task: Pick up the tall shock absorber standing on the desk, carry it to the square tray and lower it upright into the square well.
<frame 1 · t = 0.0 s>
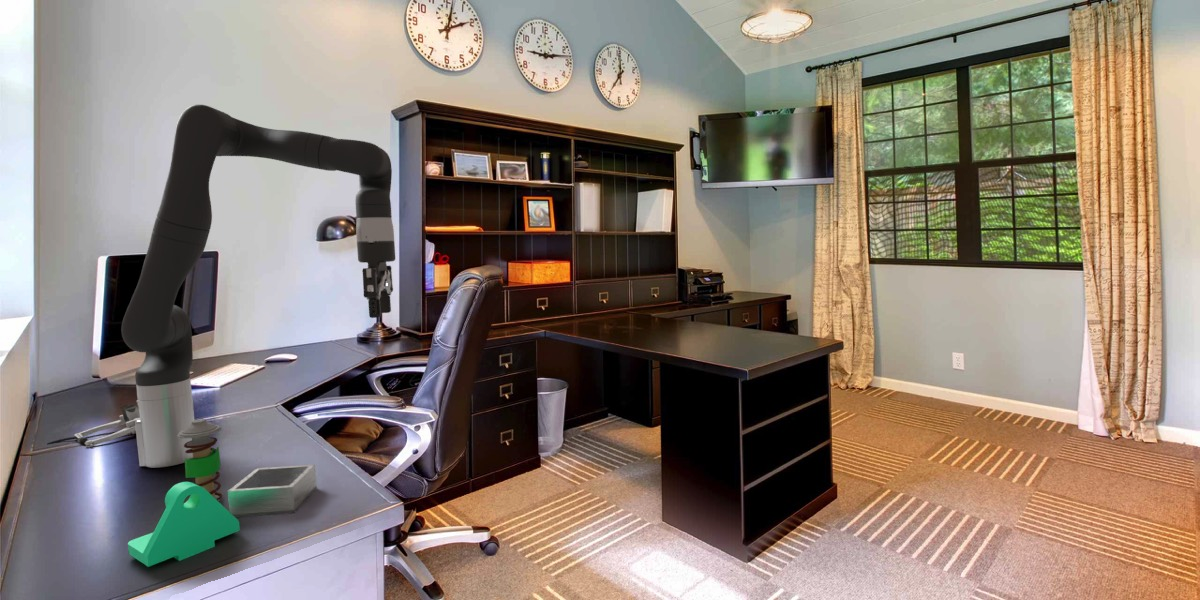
hand: (380, 315, 129), 29 cm above the table, fingers open, 8 cm apart
bike brake: (107, 439, 144), on the table
shock absorber: (206, 505, 104), on the table
camera mount: (185, 549, 89), on the table
square tray: (275, 502, 104), on the table
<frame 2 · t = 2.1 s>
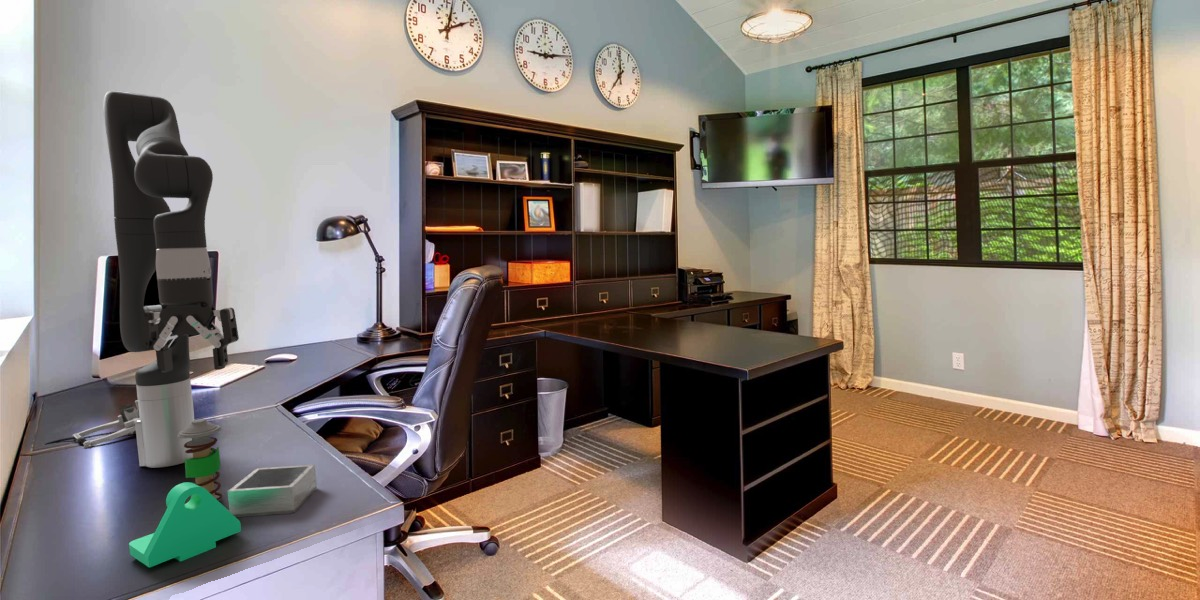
hand: (193, 370, 102), 24 cm above the table, fingers open, 8 cm apart
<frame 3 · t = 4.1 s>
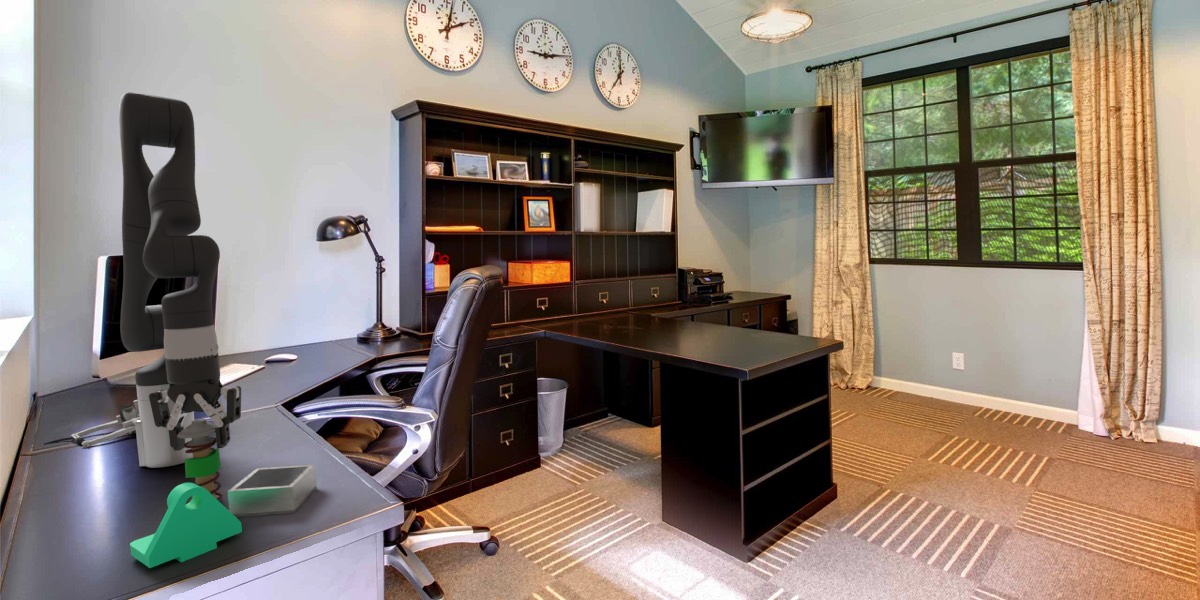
hand: (201, 447, 103), 10 cm above the table, fingers closed on shock absorber, 6 cm apart
shock absorber: (206, 505, 104), on the table, touching gripper
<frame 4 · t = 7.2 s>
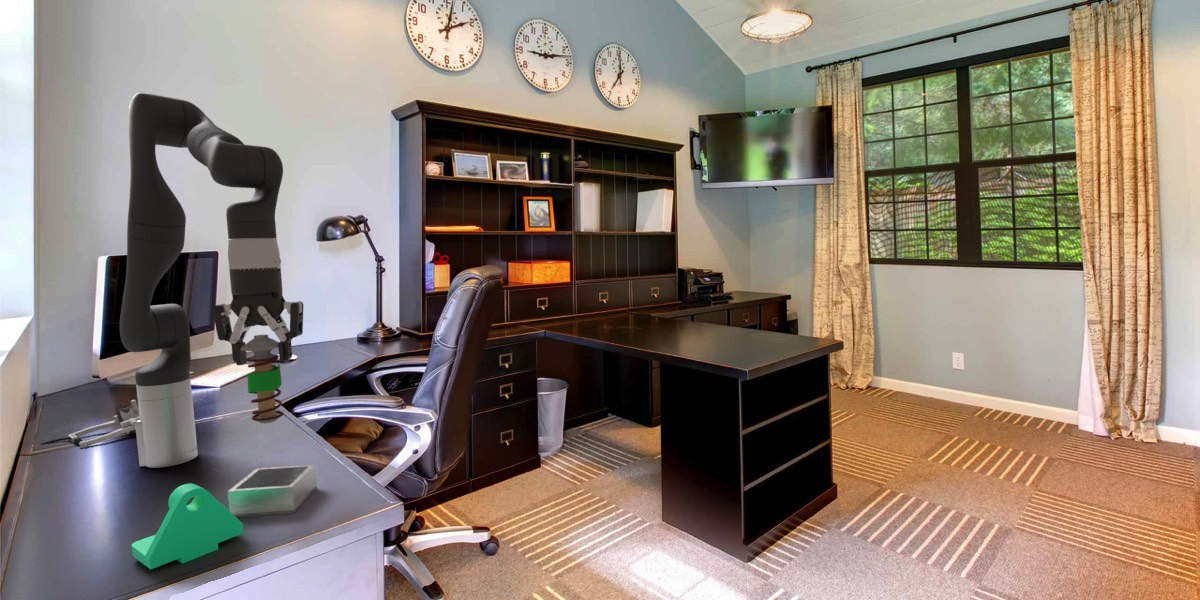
hand: (263, 363, 102), 25 cm above the table, fingers closed on shock absorber, 6 cm apart
shock absorber: (268, 422, 103), point 14 cm above the table, touching gripper
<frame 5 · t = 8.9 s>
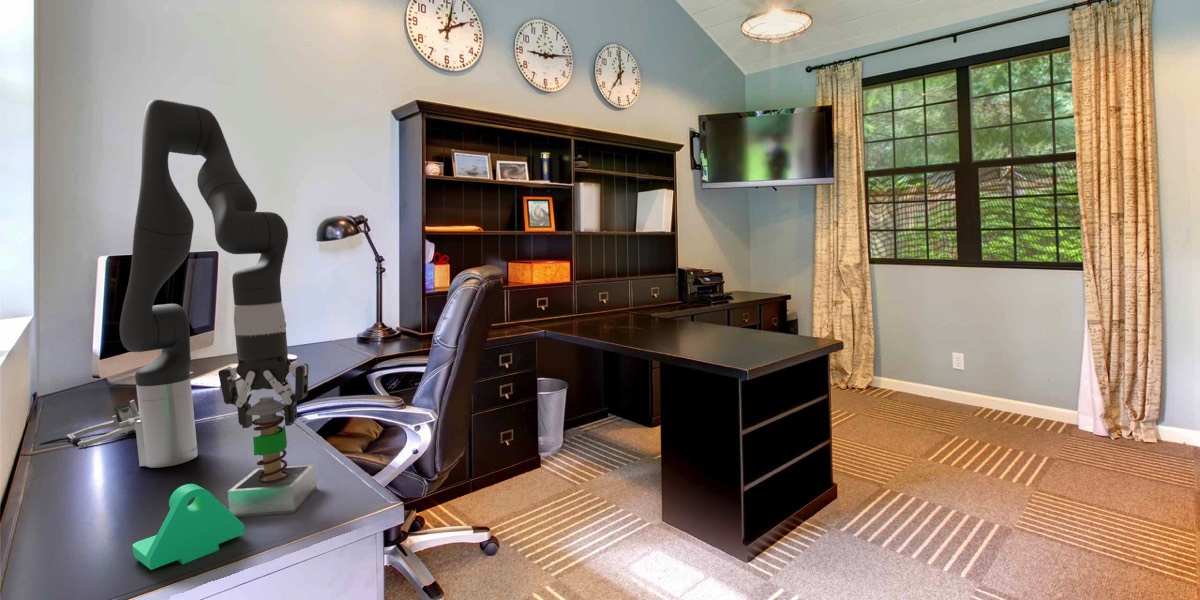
hand: (269, 425, 103), 14 cm above the table, fingers closed on shock absorber, 6 cm apart
shock absorber: (273, 483, 104), point 3 cm above the table, touching gripper
when the fingers open (12 cm above the table, at t = 10.4 s): shock absorber stays where it is, resting on square tray.
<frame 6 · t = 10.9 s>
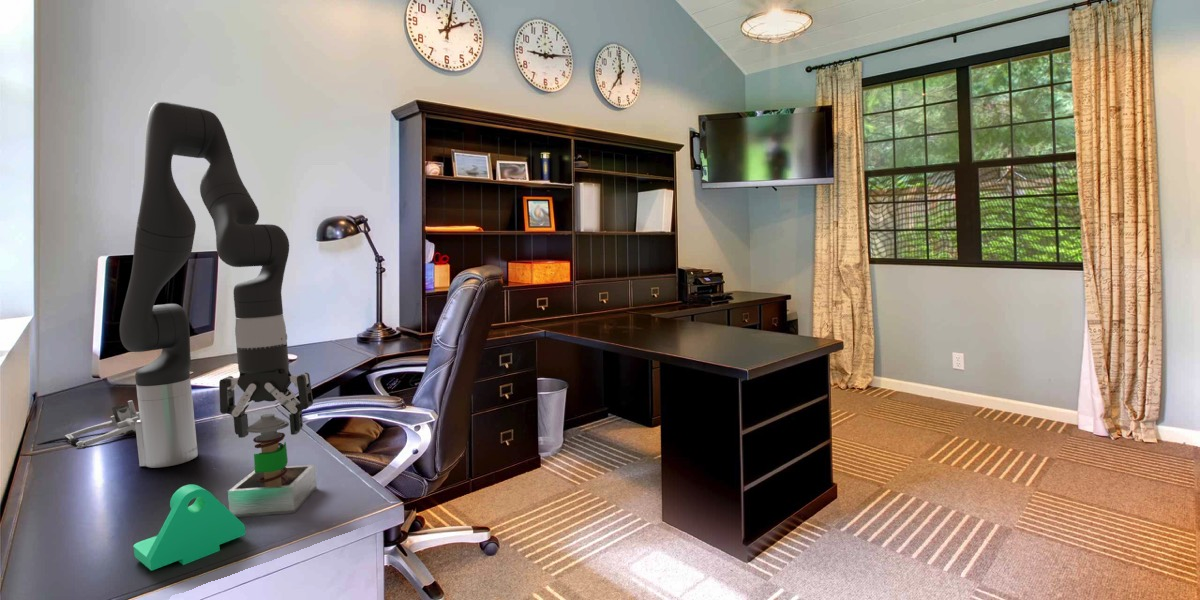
hand: (269, 434, 103), 12 cm above the table, fingers open, 8 cm apart
shock absorber: (274, 500, 104), resting on square tray
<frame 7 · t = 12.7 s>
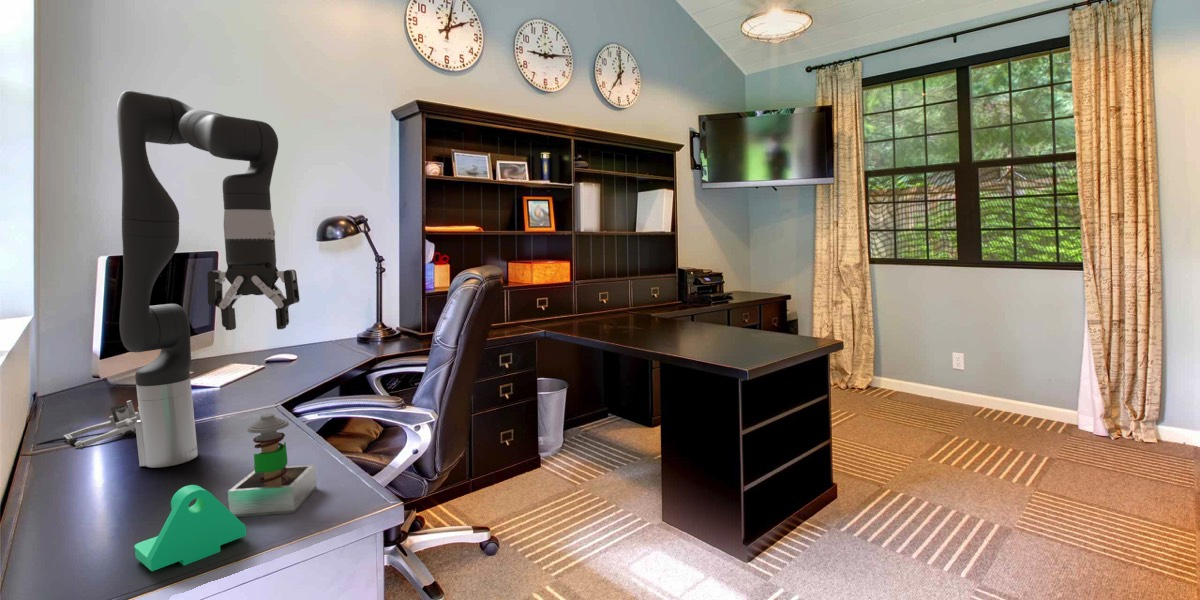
hand: (256, 329, 105), 30 cm above the table, fingers open, 8 cm apart
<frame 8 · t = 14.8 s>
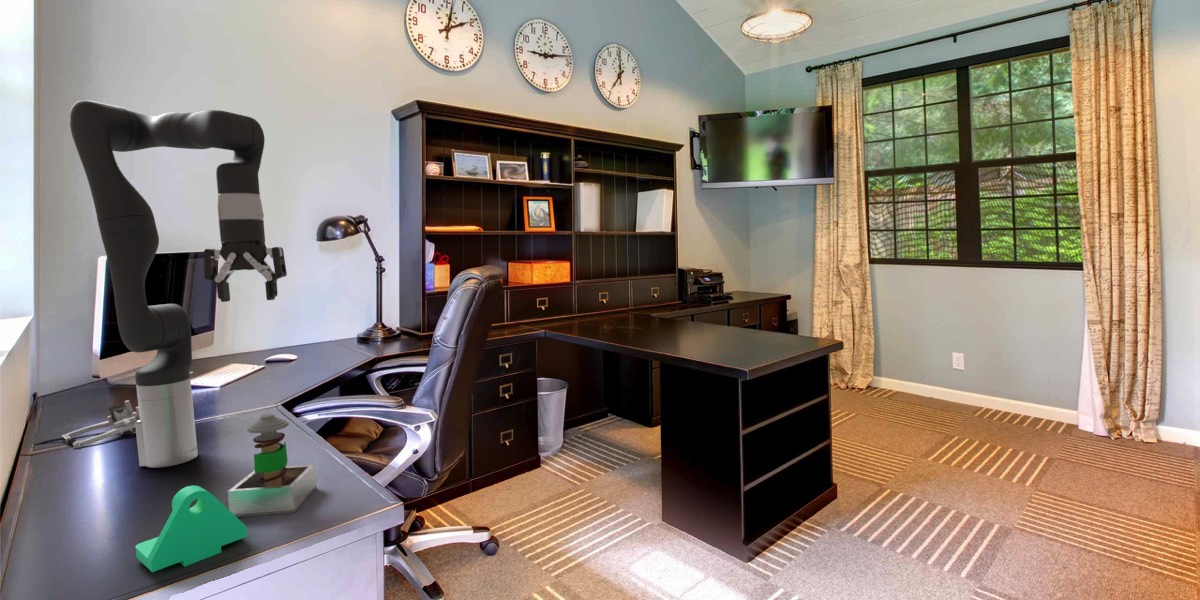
hand: (248, 300, 118), 34 cm above the table, fingers open, 8 cm apart
at the end: shock absorber 0.2 cm from the square tray (horizontally); shock absorber tilted 0° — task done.
